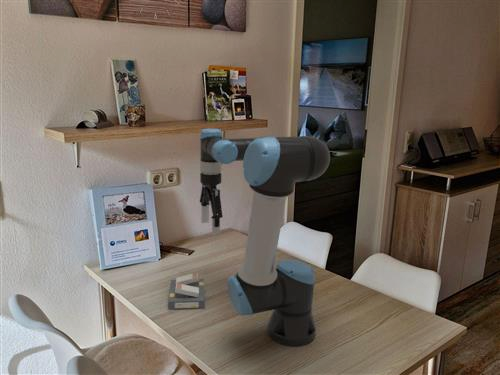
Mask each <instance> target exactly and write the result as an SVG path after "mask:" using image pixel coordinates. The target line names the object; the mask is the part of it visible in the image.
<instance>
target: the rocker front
mask: <svg viewBox="0 0 500 375" xmlns="http://www.w3.org/2000/svg"><path fill="white" fill-rule="evenodd" d="M175 293H179V294H184V295H189V296H194V297H198V295H199V288H198V287H193V286H189V285H184V284H180V283H176V286H175Z"/></svg>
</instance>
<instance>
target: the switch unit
mask: <svg viewBox="0 0 500 375" xmlns="http://www.w3.org/2000/svg"><path fill="white" fill-rule="evenodd" d="M204 279H205V278H199V281H197V282H193V283H189V284H186V285H189V286H193V287H198V288H199V295H198V297H194V296H189V295H184V294H179V293H175V286H176V279H171V280H170V287H169V288H170V289H169V296H168V297H169V298H168V310H169V311H170V310H193V309H194V310H195V309H196V310H197V309H204V310H205V307H206V305H205V303H206V301H205V280H204Z"/></svg>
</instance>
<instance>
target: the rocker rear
mask: <svg viewBox="0 0 500 375" xmlns="http://www.w3.org/2000/svg"><path fill="white" fill-rule="evenodd" d="M199 279H200V278H199V273H198V271H197V272H193V273H188V274H185V275H181V276H178V277H175V280H176V283H180V284H184V285H186V284H189V283H193V282H197V281H199Z"/></svg>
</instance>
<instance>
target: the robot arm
mask: <svg viewBox="0 0 500 375" xmlns="http://www.w3.org/2000/svg"><path fill="white" fill-rule="evenodd" d="M199 142H200V161H199V162H200V163H199V167H200V168H199V171H200V176H199V177H200V179H199V182H200V183H201V191H200V196H199V203H200V206H201V222H200V223H201V224H206V223H209V221H210V219H211V235H212V236H219V235H221V219H223V208H222V201H221V190H220V189H218V188H217V186H218V185H220V184H221V183H222V173H221V172H222V166H223V164H224V165H228V164H232V163H233V162H241V161H242V168H243V172H242V173H243V176H244V180H245V181H246V182H247V184H248V185H249V186H248V187H249V189H251V191H252V192H253V198H252V203H251V211H250V217H249V225H248V230H247V237H246V238H247V239H246V246H245V252H244V259H243V262H241V263H240V264H239V265H238V267H237V270H236V275H232V276H229V277H228V280H227V291H228V295H229V299H230V302H231V305H232V307H233V309H234V311H235V312H236V313H237V314H238V315H239V316H250V315H251V316H252V315H255V314H260V313H265V312H269V311H272V313H271V315H270V316H269V320H268V322H267V334H268V336H269V337H270V338H271V339H272V340H273V341H275V342H277V343H279V344H281V345H286V346H290V347H299V346H305V345H308V344H310V343H311V342H313V341H314V339H315V338H316V333H317V325H316V323H315V318H314V315H313V312H312V311H313V302H314V299H313V298H314V290H315V282H316V281H315V271H314V268H312V267H311V266H310V265H309V264H308V263H305V262H304V261H300V260H296V259H290V258H289V259H287V258H286V259H285V258H284V259H281V260H279V261H278V262H277V263H276V265H275V261H276V258H277V257H276V255H277V251H278V245H279V240H280V234H281V229H282V225H283V224H282V222H283V218H284V211H285V207H286V200H287V198H288V197H290V196H291V195H293V193H294V189H295V185H296V183H299V182H305V181H307V182H309V181H312V180H315V179H317V178H320V176H322V175H323V174H324V173H325V172H326V171H327V170H328V167H329V166H330V161H331V154H330V150H329V148H328V147H329V146H327V144H326V143H325V142H323V140H321V139H319V138H317V137H314V136H309V135H305V136H304V135H302V136H301V135H299V136H275V137H274V136H267V137H265V136H264V137H263V136H262V137H247V138H245V137H244V138H224V137H223V131H222V130H221V129H219V128H203V129H202V130H201V131H200V139H199ZM210 207H211V212H212V216H211V218H210ZM275 267H276V268H275ZM312 340H313V341H312Z"/></svg>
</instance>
